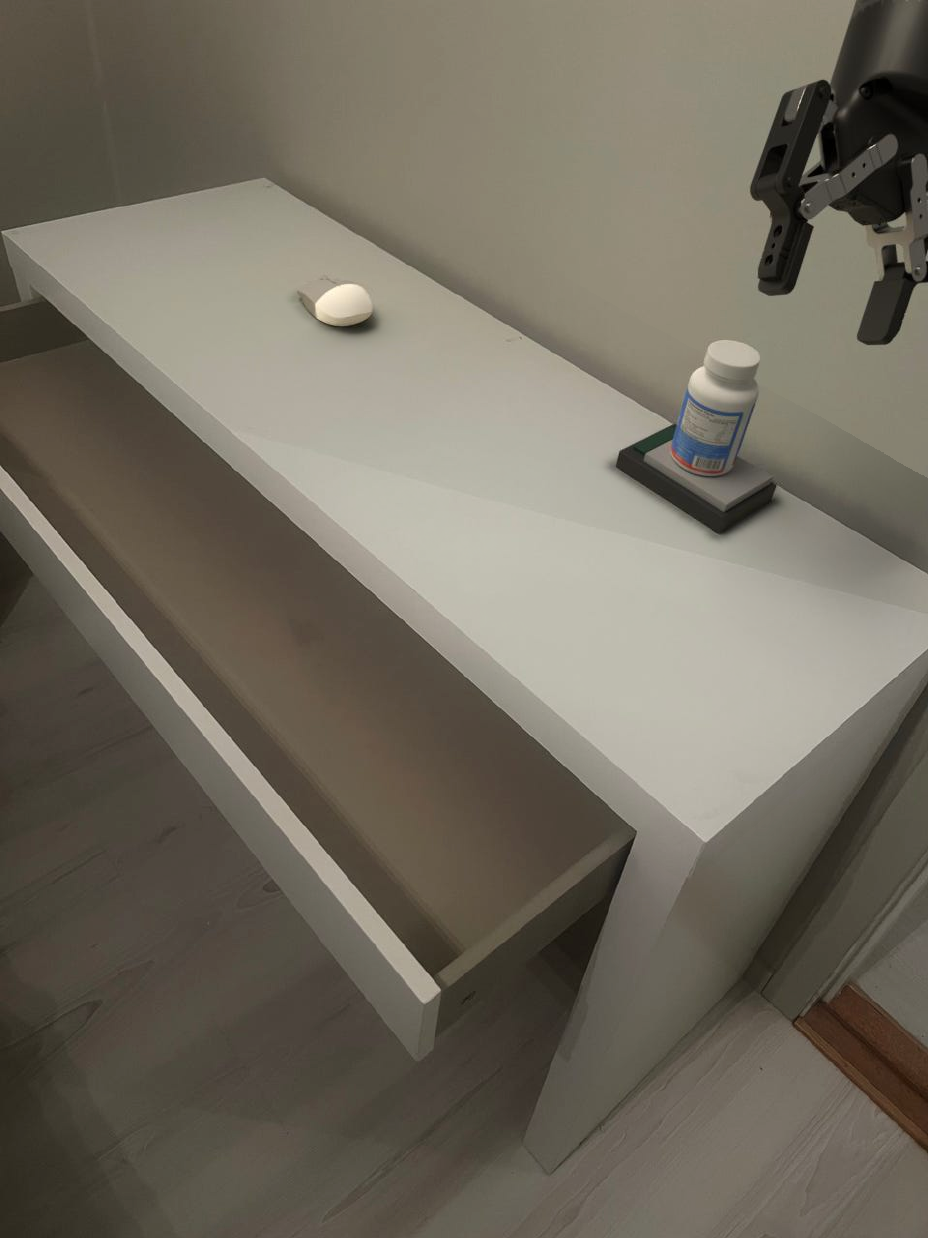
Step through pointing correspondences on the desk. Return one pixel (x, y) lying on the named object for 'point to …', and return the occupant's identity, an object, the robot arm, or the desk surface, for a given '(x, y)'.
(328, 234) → the desk surface
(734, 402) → the pill bottle
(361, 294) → the computer mouse
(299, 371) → the desk surface
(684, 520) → the desk surface
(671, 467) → the scale
